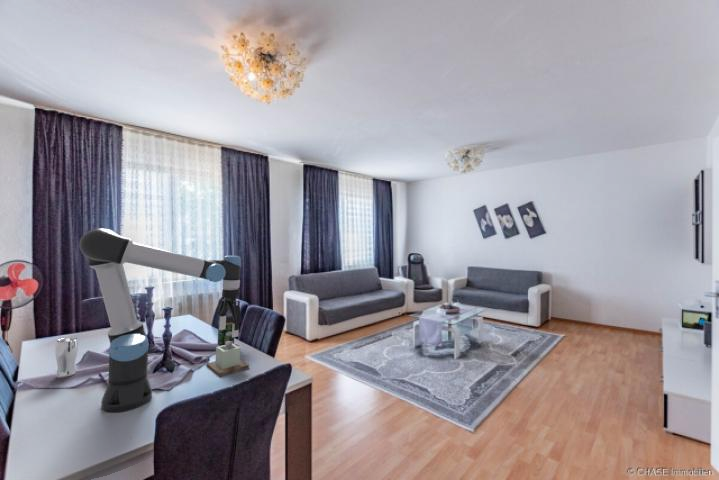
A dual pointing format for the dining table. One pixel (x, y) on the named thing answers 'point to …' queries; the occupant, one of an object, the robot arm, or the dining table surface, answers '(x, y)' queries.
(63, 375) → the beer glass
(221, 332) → the coffee jar
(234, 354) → the collar
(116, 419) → the dining table surface
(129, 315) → the robot arm
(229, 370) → the post board
